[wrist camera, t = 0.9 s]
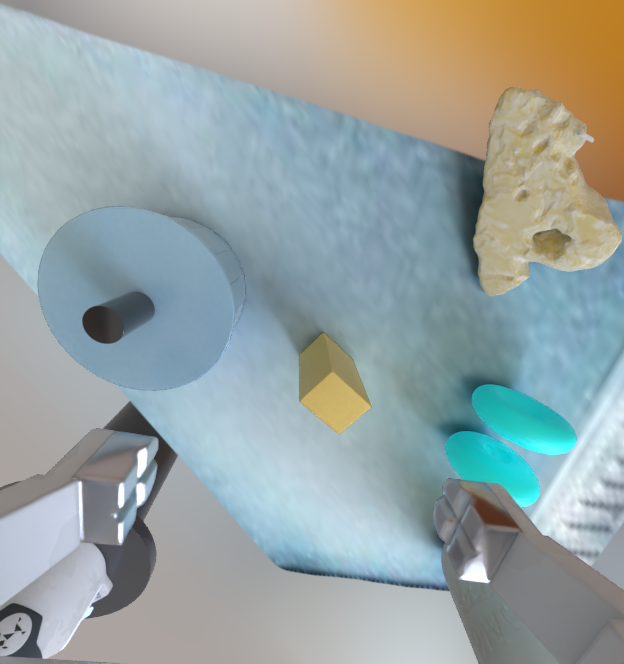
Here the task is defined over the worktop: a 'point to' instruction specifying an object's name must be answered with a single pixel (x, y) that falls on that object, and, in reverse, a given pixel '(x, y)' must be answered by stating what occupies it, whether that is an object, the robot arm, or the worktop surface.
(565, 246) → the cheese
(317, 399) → the butter
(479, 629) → the grey bottle
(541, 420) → the donuts
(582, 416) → the worktop surface
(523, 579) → the robot arm
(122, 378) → the pot lid
